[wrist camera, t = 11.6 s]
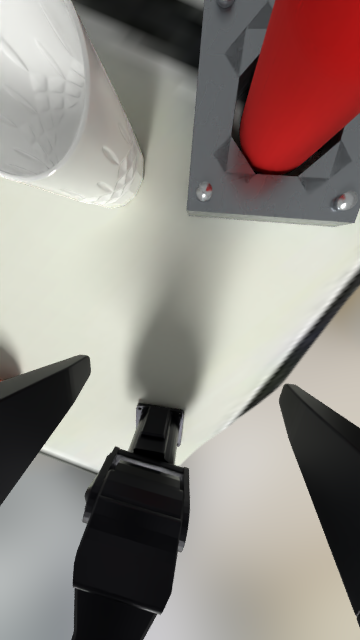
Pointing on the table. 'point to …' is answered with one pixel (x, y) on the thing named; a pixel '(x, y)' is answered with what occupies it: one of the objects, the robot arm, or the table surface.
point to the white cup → (61, 109)
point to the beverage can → (302, 83)
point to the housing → (226, 158)
